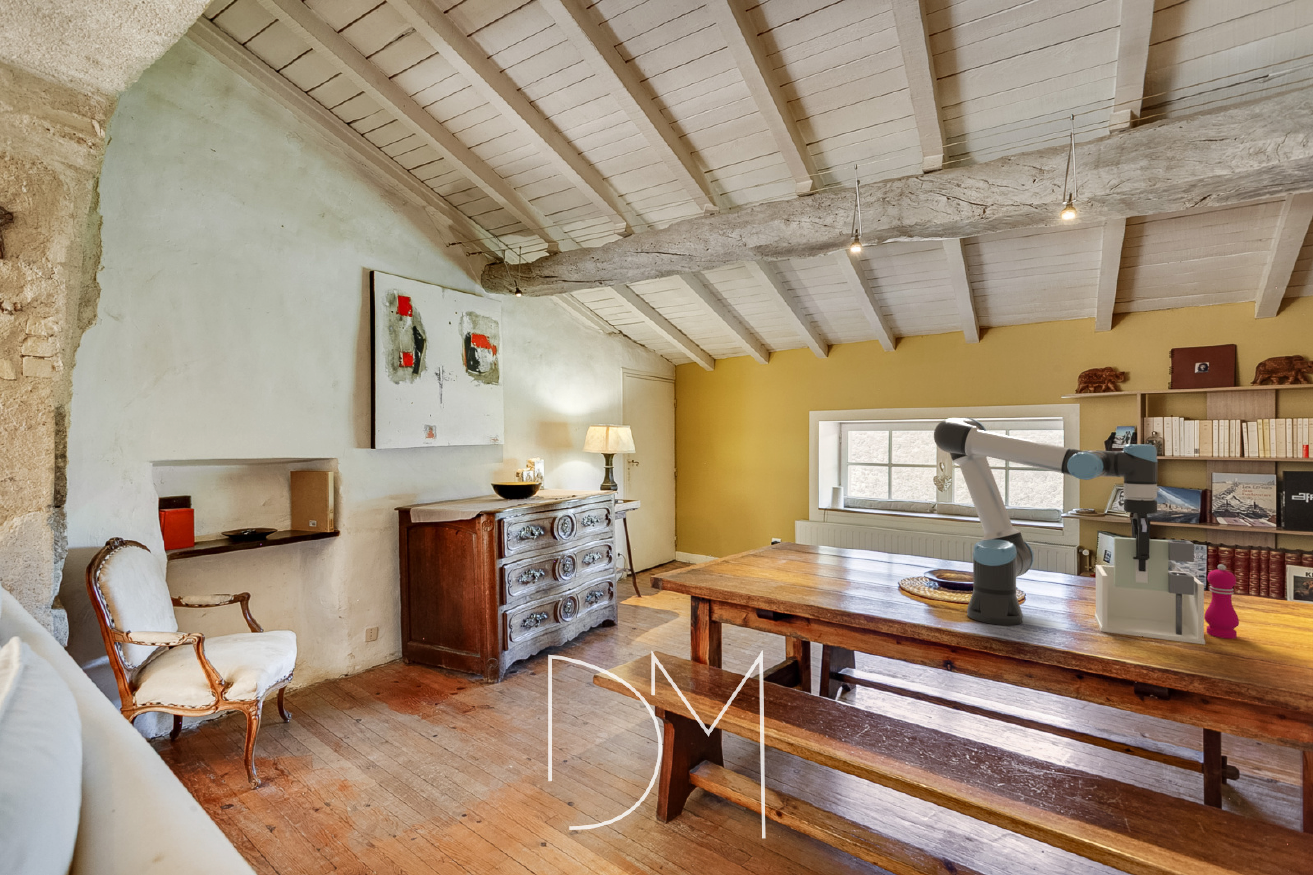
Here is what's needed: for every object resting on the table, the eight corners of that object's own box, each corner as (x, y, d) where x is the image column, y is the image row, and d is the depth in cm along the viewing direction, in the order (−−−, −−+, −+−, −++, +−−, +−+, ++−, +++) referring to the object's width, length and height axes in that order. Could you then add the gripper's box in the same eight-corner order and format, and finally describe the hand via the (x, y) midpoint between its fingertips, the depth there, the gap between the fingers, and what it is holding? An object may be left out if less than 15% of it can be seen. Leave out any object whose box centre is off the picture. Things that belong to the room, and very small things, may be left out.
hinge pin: (1176, 634, 173) (1176, 574, 172) (1175, 632, 174) (1175, 573, 174) (1182, 635, 172) (1182, 574, 172) (1181, 633, 173) (1181, 573, 173)
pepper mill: (1245, 640, 171) (1246, 567, 171) (1215, 638, 173) (1215, 566, 172) (1227, 631, 178) (1227, 562, 178) (1198, 630, 180) (1198, 561, 179)
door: (1115, 587, 178) (1115, 539, 178) (1113, 583, 182) (1113, 536, 182) (1194, 595, 169) (1193, 543, 169) (1189, 590, 174) (1189, 540, 174)
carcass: (1101, 631, 179) (1101, 575, 179) (1094, 616, 193) (1094, 564, 193) (1205, 644, 168) (1205, 584, 168) (1190, 627, 182) (1190, 572, 182)
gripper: (1162, 502, 168) (1163, 588, 168) (1151, 496, 182) (1151, 576, 182) (1128, 500, 172) (1128, 585, 172) (1119, 495, 185) (1120, 574, 186)
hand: (1140, 581), depth 177 cm, fingers closed on door, 2 cm apart
